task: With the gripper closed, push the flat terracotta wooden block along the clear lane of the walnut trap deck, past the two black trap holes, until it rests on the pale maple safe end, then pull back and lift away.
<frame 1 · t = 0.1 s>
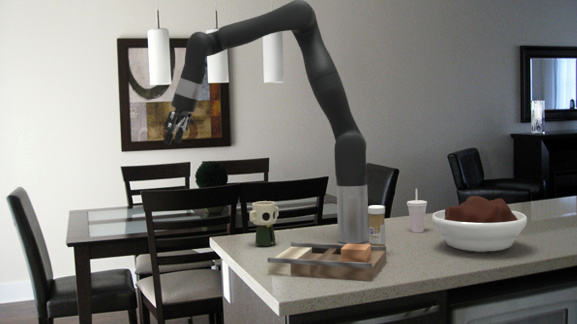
hand: (172, 143, 184), 31 cm above the counter, tool tilted 20°, fingers open, 8 cm apart
terracotta block: (356, 260, 141), point 3 cm above the counter, touching trap deck
character mug: (265, 245, 175), on the counter
sprinkles bottle: (377, 255, 158), on the counter
chocolate pudding bowl: (478, 249, 160), on the counter
smoothie: (417, 232, 186), on the counter
trap deck: (328, 267, 146), on the counter
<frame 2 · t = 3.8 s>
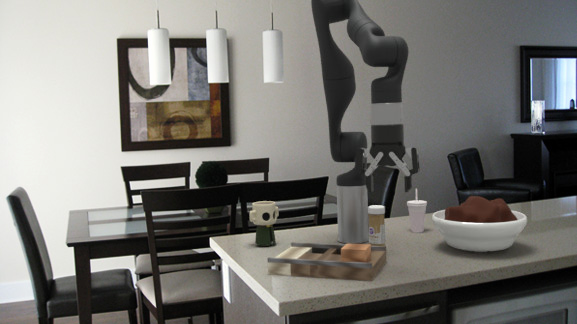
hand: (388, 191, 136), 20 cm above the counter, tool pointing down, fingers open, 8 cm apart
nothing on the counter moved.
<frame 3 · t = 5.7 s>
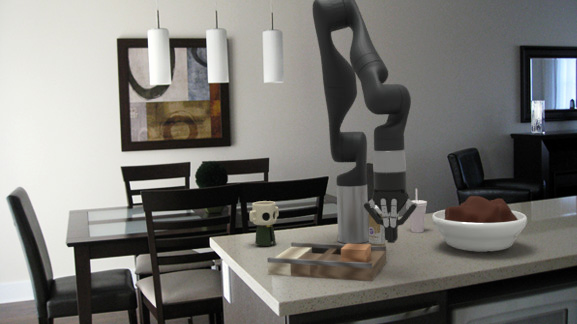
hand: (391, 242, 137), 8 cm above the counter, tool pointing down, fingers closed
nothing on the counter moved.
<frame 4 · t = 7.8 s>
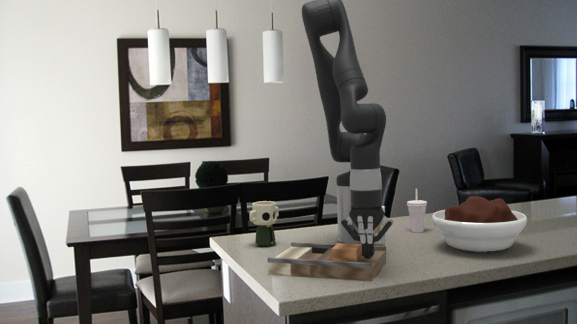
hand: (368, 258, 140), 4 cm above the counter, tool pointing down, fingers closed
terracotta block: (347, 260, 141), point 3 cm above the counter
everything else where it was.
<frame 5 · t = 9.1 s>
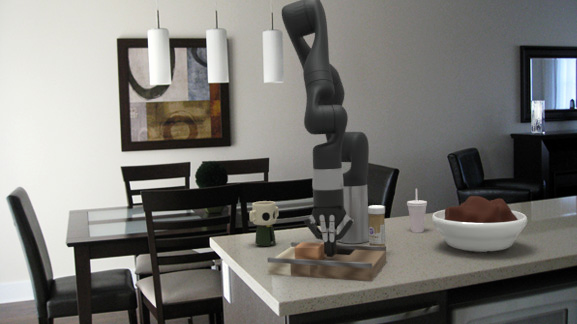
hand: (330, 256, 143), 4 cm above the counter, tool pointing down, fingers closed
terracotta block: (310, 258, 144), point 3 cm above the counter, touching trap deck
everything else where it was.
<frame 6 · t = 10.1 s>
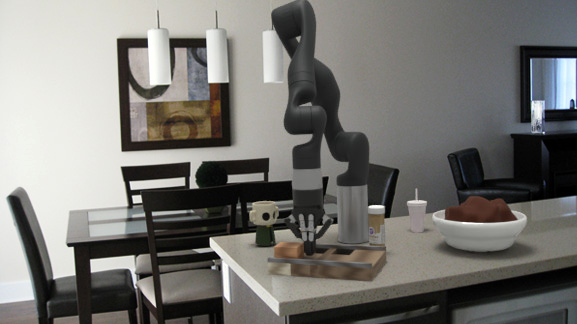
hand: (309, 254, 145), 4 cm above the counter, tool pointing down, fingers closed
terracotta block: (289, 258, 145), point 3 cm above the counter, touching gripper, trap deck
everything else where it was.
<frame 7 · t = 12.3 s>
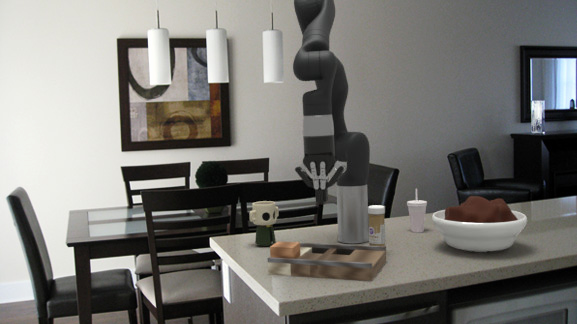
hand: (321, 203, 142), 17 cm above the counter, tool pointing down, fingers closed
terracotta block: (285, 258, 146), point 3 cm above the counter, touching trap deck
everything else where it was.
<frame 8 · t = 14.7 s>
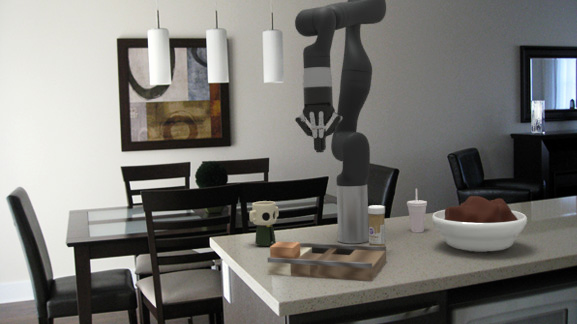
hand: (319, 152, 152), 29 cm above the counter, tool pointing down, fingers closed
nothing on the counter moved.
at the end: terracotta block inside the target area (1.4 cm from its centre), point 3.0 cm above the counter; terracotta block tilted 0° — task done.
